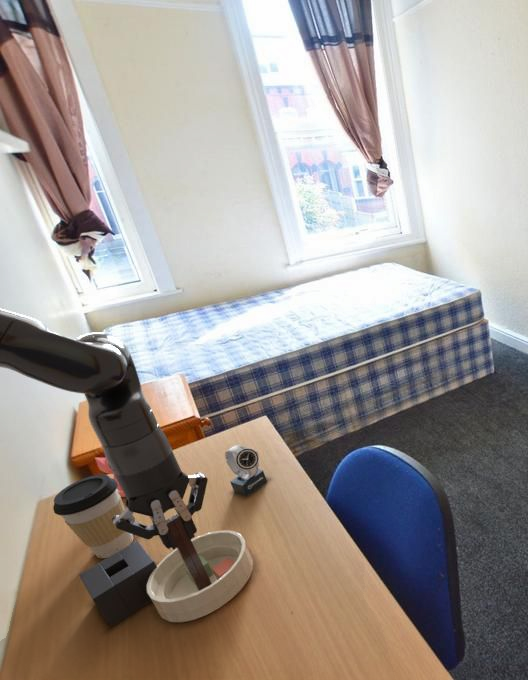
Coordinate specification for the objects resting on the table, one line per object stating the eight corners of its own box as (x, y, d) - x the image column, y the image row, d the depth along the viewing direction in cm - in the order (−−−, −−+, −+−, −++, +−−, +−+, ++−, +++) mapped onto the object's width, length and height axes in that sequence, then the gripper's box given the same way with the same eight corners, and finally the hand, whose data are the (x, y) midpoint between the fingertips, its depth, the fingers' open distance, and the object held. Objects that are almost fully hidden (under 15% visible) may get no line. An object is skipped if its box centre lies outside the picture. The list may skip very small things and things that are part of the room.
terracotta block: (224, 588, 84) (218, 576, 83) (217, 580, 86) (211, 568, 84) (241, 576, 86) (236, 564, 85) (234, 568, 88) (228, 557, 86)
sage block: (196, 586, 85) (190, 574, 84) (189, 578, 86) (183, 566, 85) (213, 574, 87) (208, 562, 86) (206, 566, 89) (201, 555, 87)
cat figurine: (146, 478, 117) (126, 438, 112) (152, 489, 113) (131, 448, 108) (111, 493, 113) (89, 452, 108) (116, 506, 108) (93, 464, 103)
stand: (110, 628, 79) (92, 599, 76) (96, 602, 84) (78, 574, 81) (168, 589, 85) (153, 561, 83) (151, 567, 91) (137, 540, 88)
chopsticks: (200, 593, 82) (166, 524, 76) (197, 589, 83) (163, 521, 77) (212, 584, 84) (179, 516, 77) (209, 581, 84) (177, 513, 78)
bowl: (178, 641, 76) (165, 619, 74) (146, 596, 84) (133, 574, 82) (269, 573, 87) (260, 552, 84) (232, 539, 95) (223, 519, 93)
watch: (252, 498, 106) (236, 459, 102) (229, 490, 110) (213, 452, 106) (272, 482, 111) (258, 444, 107) (250, 475, 114) (236, 438, 110)
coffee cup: (134, 521, 103) (105, 466, 97) (151, 539, 97) (121, 482, 91) (78, 552, 96) (43, 495, 90) (93, 574, 90) (56, 514, 84)
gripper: (93, 493, 65) (143, 581, 72) (200, 441, 75) (234, 523, 82) (79, 475, 69) (127, 559, 76) (181, 428, 79) (215, 507, 86)
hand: (182, 540), depth 79 cm, fingers closed on chopsticks
